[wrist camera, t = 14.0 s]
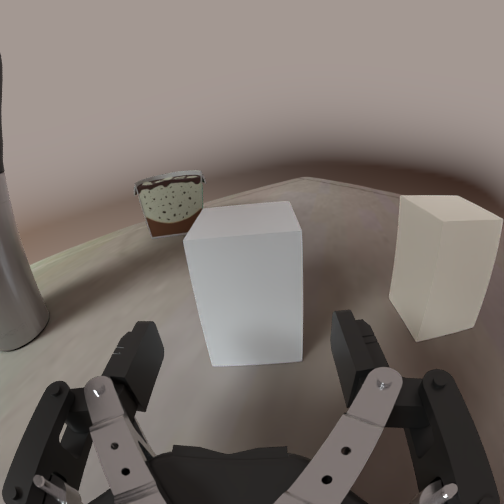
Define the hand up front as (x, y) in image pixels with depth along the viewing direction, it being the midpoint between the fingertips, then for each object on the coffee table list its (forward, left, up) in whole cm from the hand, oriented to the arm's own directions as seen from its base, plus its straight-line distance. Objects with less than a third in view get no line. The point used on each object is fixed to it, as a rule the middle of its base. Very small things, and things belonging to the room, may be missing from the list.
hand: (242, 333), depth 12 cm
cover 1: (-6, +6, -7) cm, 11 cm away
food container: (-37, +15, -8) cm, 40 cm away
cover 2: (+5, +17, -7) cm, 19 cm away
